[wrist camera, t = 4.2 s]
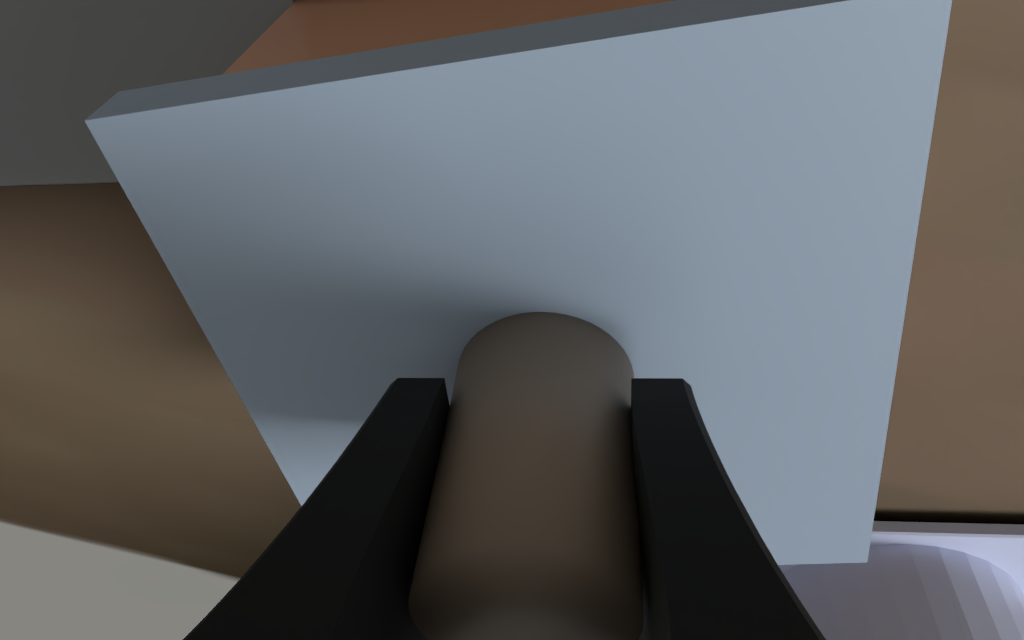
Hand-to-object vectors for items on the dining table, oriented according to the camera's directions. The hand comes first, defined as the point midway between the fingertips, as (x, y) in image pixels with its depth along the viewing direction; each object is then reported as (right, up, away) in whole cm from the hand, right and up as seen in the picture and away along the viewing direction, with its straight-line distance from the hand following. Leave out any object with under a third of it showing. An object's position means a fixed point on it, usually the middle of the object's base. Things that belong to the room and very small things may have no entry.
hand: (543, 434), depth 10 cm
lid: (0, +1, +1) cm, 2 cm away
